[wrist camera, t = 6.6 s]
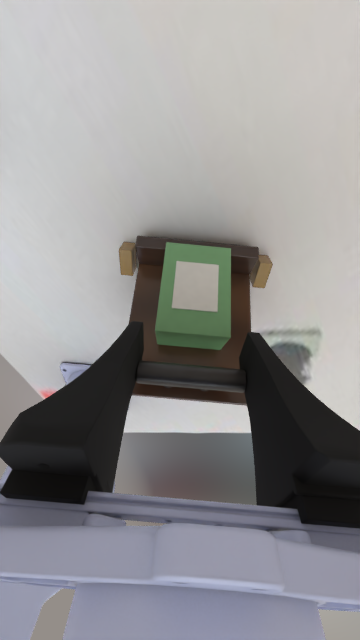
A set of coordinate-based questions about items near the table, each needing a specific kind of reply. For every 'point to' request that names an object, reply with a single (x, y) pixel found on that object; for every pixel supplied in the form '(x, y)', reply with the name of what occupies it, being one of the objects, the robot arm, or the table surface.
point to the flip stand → (186, 362)
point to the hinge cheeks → (256, 276)
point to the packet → (195, 297)
